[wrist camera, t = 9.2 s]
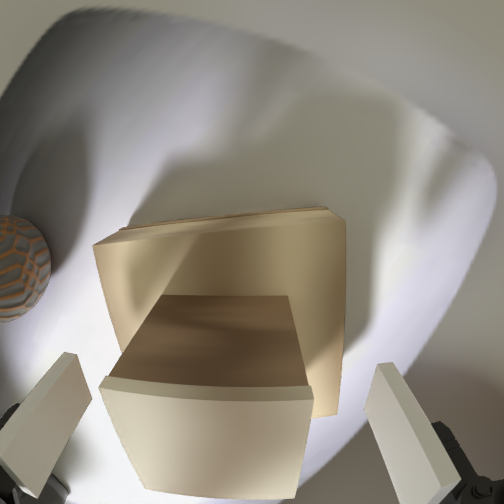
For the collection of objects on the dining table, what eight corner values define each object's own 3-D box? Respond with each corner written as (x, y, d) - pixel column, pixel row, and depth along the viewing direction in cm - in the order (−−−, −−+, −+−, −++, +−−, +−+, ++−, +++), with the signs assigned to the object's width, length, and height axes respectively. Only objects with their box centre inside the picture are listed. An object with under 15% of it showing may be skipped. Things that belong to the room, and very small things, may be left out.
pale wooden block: (175, 389, 16) (145, 488, 9) (160, 293, 14) (98, 387, 7) (283, 392, 16) (294, 498, 9) (288, 294, 14) (314, 399, 7)
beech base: (165, 379, 22) (149, 423, 17) (128, 224, 18) (91, 244, 13) (323, 369, 21) (337, 415, 16) (322, 204, 18) (346, 219, 13)
